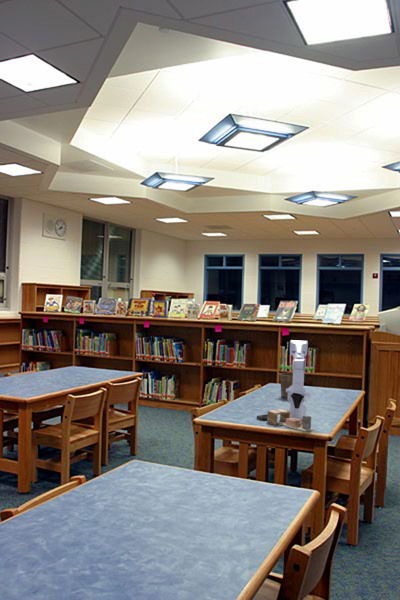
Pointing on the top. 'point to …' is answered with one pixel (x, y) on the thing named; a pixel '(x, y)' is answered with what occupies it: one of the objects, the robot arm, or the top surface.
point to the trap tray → (262, 417)
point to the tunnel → (273, 416)
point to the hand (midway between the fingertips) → (296, 408)
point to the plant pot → (285, 383)
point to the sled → (298, 423)
